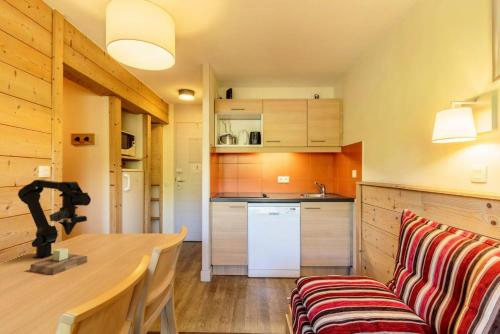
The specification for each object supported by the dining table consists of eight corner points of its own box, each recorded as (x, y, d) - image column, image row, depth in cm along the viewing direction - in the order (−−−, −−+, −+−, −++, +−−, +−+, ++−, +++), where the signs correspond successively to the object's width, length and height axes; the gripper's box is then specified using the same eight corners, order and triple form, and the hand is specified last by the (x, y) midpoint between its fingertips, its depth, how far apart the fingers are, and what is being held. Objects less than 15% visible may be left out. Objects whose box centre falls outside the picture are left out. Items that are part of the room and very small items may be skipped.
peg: (52, 267, 112) (53, 250, 112) (61, 264, 116) (62, 248, 116) (58, 268, 111) (59, 251, 111) (67, 265, 115) (68, 248, 115)
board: (30, 271, 108) (30, 264, 108) (66, 259, 123) (66, 253, 123) (53, 275, 104) (53, 268, 104) (87, 262, 119) (87, 256, 119)
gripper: (39, 206, 121) (38, 237, 121) (67, 207, 116) (65, 240, 116) (61, 203, 132) (60, 232, 131) (88, 205, 127) (87, 234, 126)
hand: (67, 234), depth 126 cm, fingers closed
